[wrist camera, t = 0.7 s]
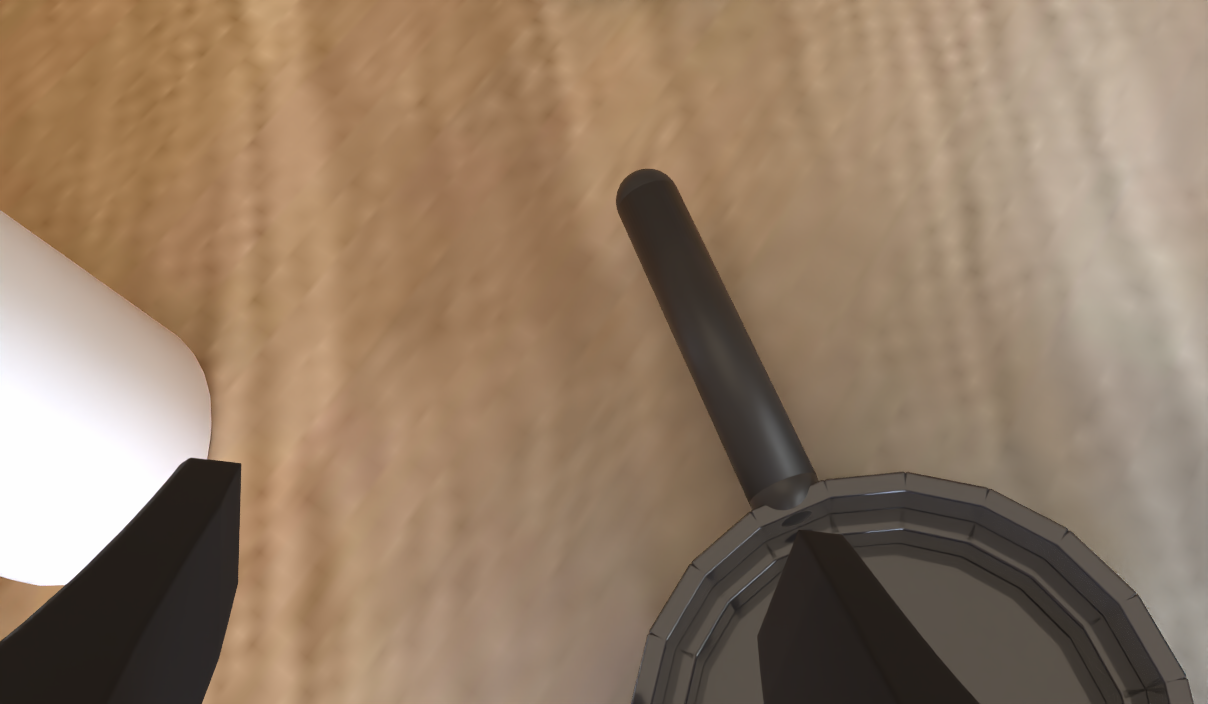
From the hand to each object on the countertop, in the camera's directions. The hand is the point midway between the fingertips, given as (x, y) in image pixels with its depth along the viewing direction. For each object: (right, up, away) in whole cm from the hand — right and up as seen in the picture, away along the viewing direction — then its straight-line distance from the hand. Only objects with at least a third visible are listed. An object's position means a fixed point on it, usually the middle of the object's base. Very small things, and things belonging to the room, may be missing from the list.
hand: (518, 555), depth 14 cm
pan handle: (+4, +3, +16) cm, 17 cm away
